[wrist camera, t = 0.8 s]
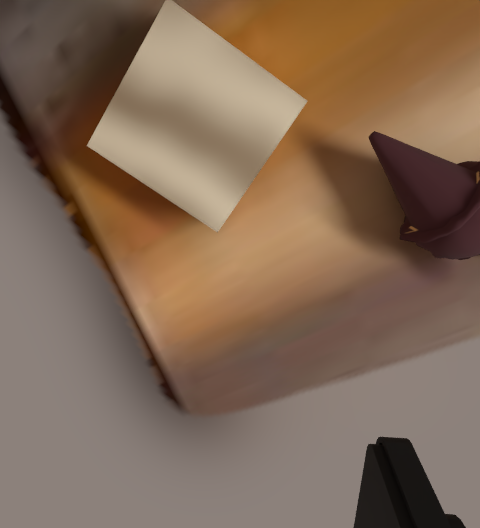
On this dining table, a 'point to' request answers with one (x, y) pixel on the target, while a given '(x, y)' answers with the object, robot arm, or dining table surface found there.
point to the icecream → (433, 198)
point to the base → (194, 117)
